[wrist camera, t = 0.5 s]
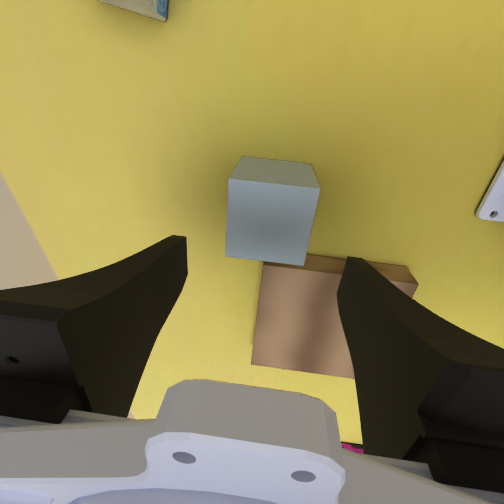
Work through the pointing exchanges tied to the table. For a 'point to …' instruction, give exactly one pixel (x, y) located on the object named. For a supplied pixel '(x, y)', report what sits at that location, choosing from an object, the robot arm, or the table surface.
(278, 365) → the walnut base
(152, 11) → the medicine box
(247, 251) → the slate block
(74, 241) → the table surface
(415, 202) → the table surface
